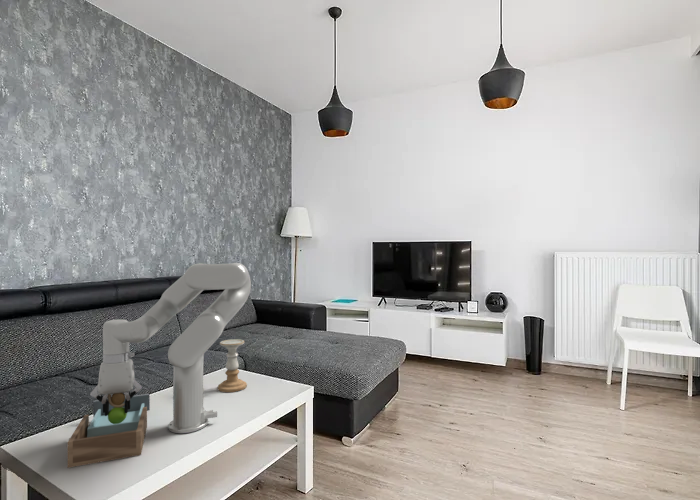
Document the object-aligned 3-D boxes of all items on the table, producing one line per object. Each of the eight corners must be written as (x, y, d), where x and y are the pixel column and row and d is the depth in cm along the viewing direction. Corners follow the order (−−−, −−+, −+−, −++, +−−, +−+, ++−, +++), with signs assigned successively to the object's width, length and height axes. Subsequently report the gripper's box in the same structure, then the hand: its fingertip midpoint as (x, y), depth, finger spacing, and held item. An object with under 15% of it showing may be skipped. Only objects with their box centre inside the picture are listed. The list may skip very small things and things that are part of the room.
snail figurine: (111, 419, 135) (111, 383, 135) (130, 420, 134) (130, 384, 135) (100, 426, 129) (101, 389, 129) (120, 427, 129) (120, 389, 129)
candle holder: (238, 381, 184) (238, 337, 184) (252, 388, 175) (251, 341, 175) (212, 387, 176) (212, 341, 176) (225, 394, 167) (225, 346, 167)
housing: (84, 436, 129) (84, 415, 129) (147, 427, 136) (147, 406, 136) (67, 467, 110) (67, 442, 110) (140, 454, 117) (140, 430, 117)
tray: (94, 416, 142) (94, 400, 142) (149, 409, 148) (149, 393, 148) (81, 440, 124) (81, 421, 124) (144, 430, 131) (144, 412, 131)
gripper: (146, 352, 139) (146, 405, 139) (88, 357, 132) (89, 413, 132) (144, 357, 132) (144, 413, 132) (83, 363, 125) (83, 421, 125)
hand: (116, 412), depth 132 cm, fingers closed on snail figurine, 5 cm apart
